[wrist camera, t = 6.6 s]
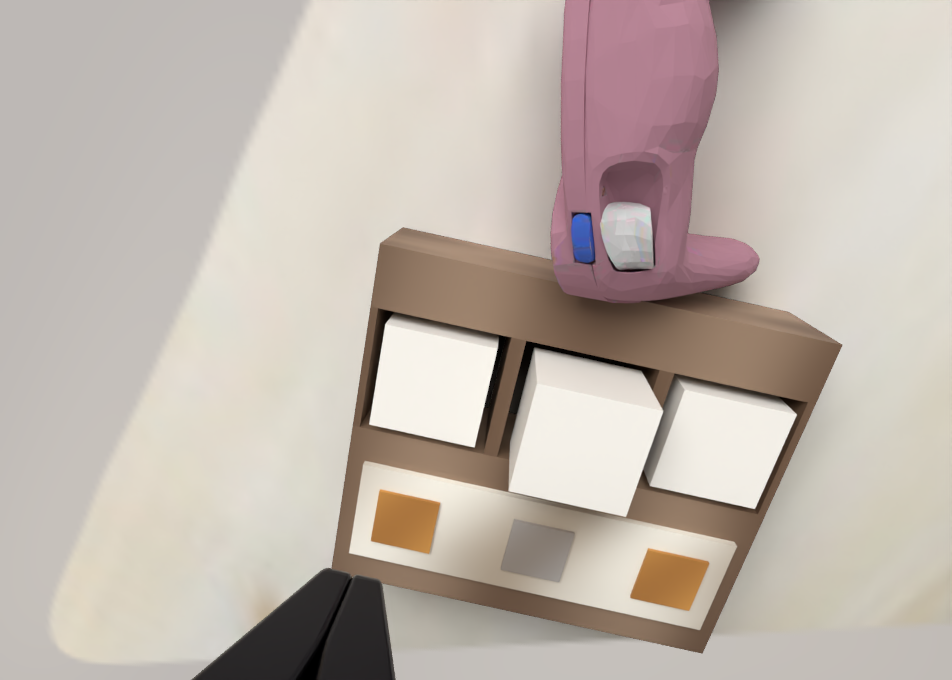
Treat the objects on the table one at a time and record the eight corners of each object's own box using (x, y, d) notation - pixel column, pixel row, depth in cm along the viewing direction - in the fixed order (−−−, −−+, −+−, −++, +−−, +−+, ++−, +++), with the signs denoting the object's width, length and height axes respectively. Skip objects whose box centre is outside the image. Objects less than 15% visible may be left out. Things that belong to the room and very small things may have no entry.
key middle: (641, 370, 15) (663, 411, 13) (610, 463, 16) (625, 516, 14) (534, 347, 15) (537, 383, 13) (509, 441, 16) (508, 491, 14)
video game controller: (622, -86, 15) (501, -223, 10) (815, -131, 13) (803, -343, 8) (605, 271, 18) (504, 325, 13) (759, 284, 16) (720, 357, 11)
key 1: (500, 320, 17) (497, 348, 15) (480, 408, 18) (474, 447, 16) (403, 299, 17) (385, 324, 15) (388, 388, 18) (368, 424, 16)
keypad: (789, 312, 17) (848, 348, 14) (677, 584, 21) (705, 661, 18) (402, 227, 17) (377, 245, 14) (356, 513, 21) (328, 578, 18)
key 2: (758, 377, 17) (797, 414, 15) (724, 461, 18) (754, 509, 16) (661, 356, 17) (684, 389, 15) (632, 441, 18) (649, 486, 16)
